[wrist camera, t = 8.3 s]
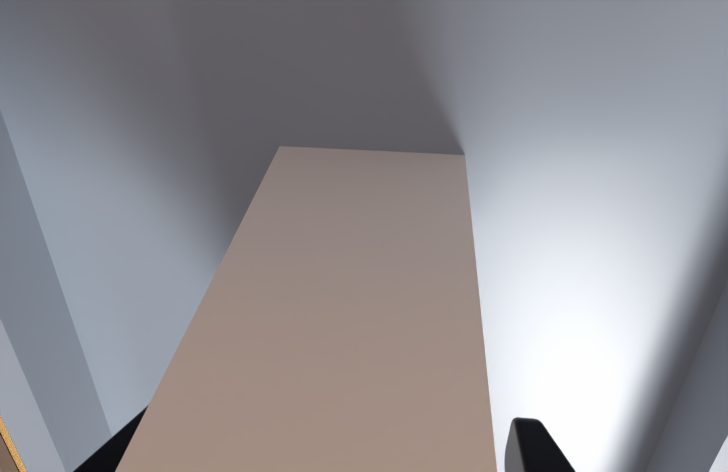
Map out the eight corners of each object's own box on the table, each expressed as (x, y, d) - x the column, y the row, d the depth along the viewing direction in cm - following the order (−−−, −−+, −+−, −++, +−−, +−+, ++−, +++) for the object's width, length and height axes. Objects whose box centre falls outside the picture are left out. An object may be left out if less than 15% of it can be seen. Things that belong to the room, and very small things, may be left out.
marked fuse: (439, 386, 14) (445, 871, 7) (296, 375, 14) (179, 835, 8) (464, 155, 11) (514, 652, 4) (279, 145, 11) (49, 602, 4)
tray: (621, 578, 19) (644, 670, 17) (128, 529, 20) (93, 608, 18) (1158, -583, 6) (1524, -794, 4) (-257, -525, 7) (-523, -667, 5)
